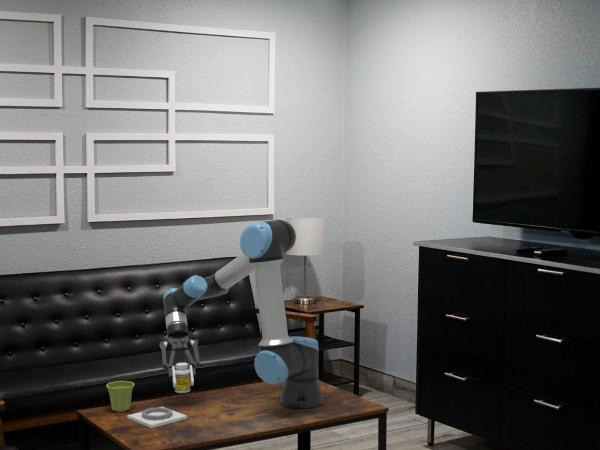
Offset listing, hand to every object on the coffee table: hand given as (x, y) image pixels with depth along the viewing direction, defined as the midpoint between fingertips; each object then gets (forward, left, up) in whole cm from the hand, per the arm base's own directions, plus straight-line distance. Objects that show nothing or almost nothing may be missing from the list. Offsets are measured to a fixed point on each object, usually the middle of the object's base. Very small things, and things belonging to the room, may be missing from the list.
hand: (183, 384), depth 303 cm
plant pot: (+14, +16, -9) cm, 23 cm away
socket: (-3, +13, -8) cm, 16 cm away
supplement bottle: (+3, -2, -4) cm, 5 cm away
